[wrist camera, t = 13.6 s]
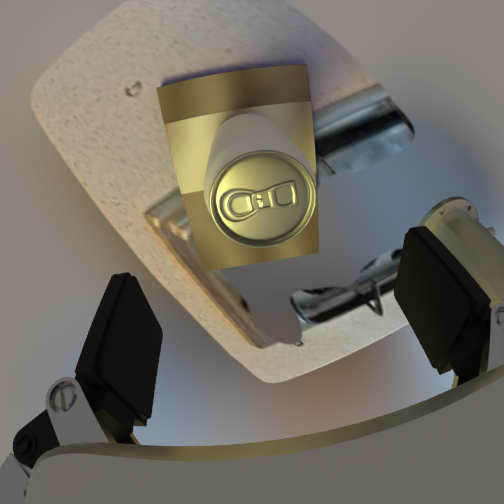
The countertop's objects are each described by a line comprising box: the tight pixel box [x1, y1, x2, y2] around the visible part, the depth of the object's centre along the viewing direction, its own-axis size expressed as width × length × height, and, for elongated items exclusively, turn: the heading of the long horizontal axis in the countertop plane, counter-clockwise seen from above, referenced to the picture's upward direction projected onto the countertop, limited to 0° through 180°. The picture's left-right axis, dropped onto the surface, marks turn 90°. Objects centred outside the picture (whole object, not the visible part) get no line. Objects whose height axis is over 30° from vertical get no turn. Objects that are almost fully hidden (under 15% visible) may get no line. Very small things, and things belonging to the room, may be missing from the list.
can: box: [204, 114, 317, 248], centre depth 20 cm, size 6×6×12 cm
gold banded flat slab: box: [157, 64, 318, 271], centre depth 27 cm, size 13×20×2 cm, turn 8°
